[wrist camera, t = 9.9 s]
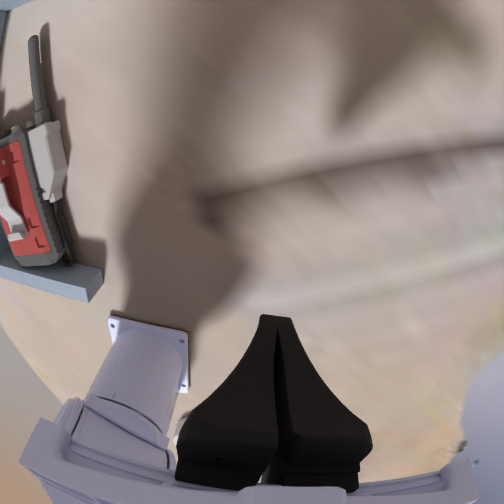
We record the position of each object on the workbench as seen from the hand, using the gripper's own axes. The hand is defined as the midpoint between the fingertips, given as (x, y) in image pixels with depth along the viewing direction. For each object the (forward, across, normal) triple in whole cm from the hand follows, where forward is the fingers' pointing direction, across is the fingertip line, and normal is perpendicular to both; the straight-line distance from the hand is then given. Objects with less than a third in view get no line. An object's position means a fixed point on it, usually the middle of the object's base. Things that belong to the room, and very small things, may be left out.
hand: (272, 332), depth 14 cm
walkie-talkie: (+10, +21, -4) cm, 24 cm away
